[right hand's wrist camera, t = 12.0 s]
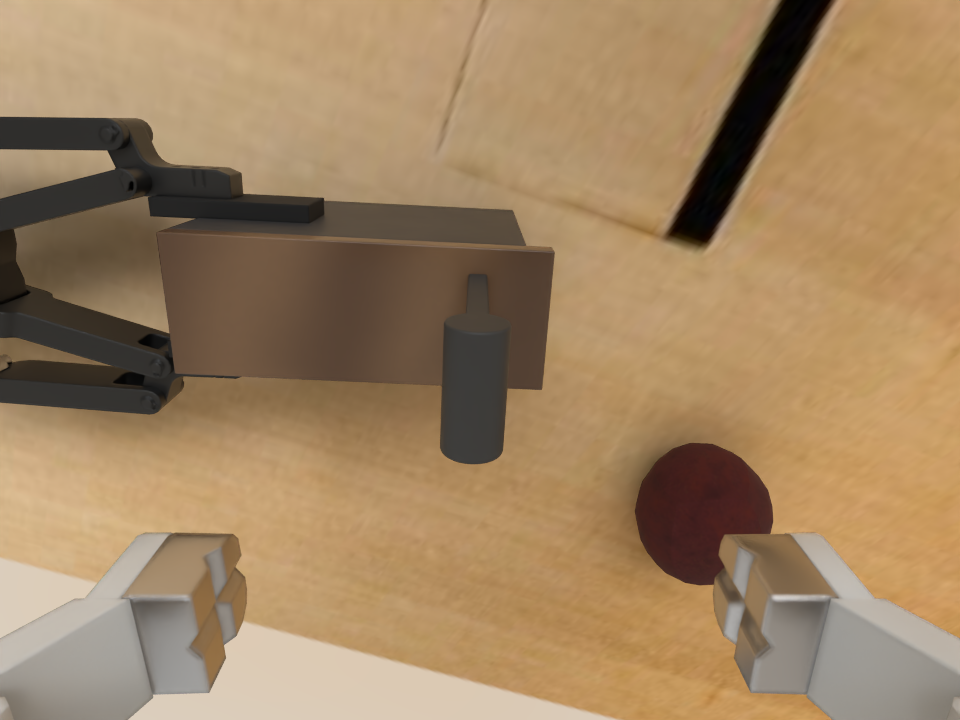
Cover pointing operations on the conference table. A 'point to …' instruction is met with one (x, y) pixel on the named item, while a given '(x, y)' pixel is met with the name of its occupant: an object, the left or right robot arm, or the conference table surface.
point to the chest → (387, 224)
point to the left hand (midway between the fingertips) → (318, 280)
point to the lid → (365, 317)
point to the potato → (699, 509)
